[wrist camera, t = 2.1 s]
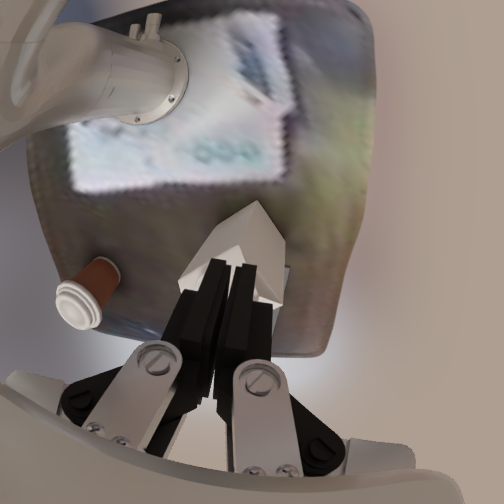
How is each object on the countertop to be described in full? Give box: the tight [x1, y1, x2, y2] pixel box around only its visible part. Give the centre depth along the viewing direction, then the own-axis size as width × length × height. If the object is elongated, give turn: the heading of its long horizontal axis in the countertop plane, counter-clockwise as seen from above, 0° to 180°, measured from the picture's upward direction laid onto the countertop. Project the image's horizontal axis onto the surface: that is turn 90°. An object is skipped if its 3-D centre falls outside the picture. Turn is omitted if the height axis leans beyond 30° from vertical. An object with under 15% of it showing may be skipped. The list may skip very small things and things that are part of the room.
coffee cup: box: [56, 257, 121, 330], centre depth 39 cm, size 9×9×12 cm
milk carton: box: [178, 200, 285, 310], centre depth 29 cm, size 7×7×19 cm
